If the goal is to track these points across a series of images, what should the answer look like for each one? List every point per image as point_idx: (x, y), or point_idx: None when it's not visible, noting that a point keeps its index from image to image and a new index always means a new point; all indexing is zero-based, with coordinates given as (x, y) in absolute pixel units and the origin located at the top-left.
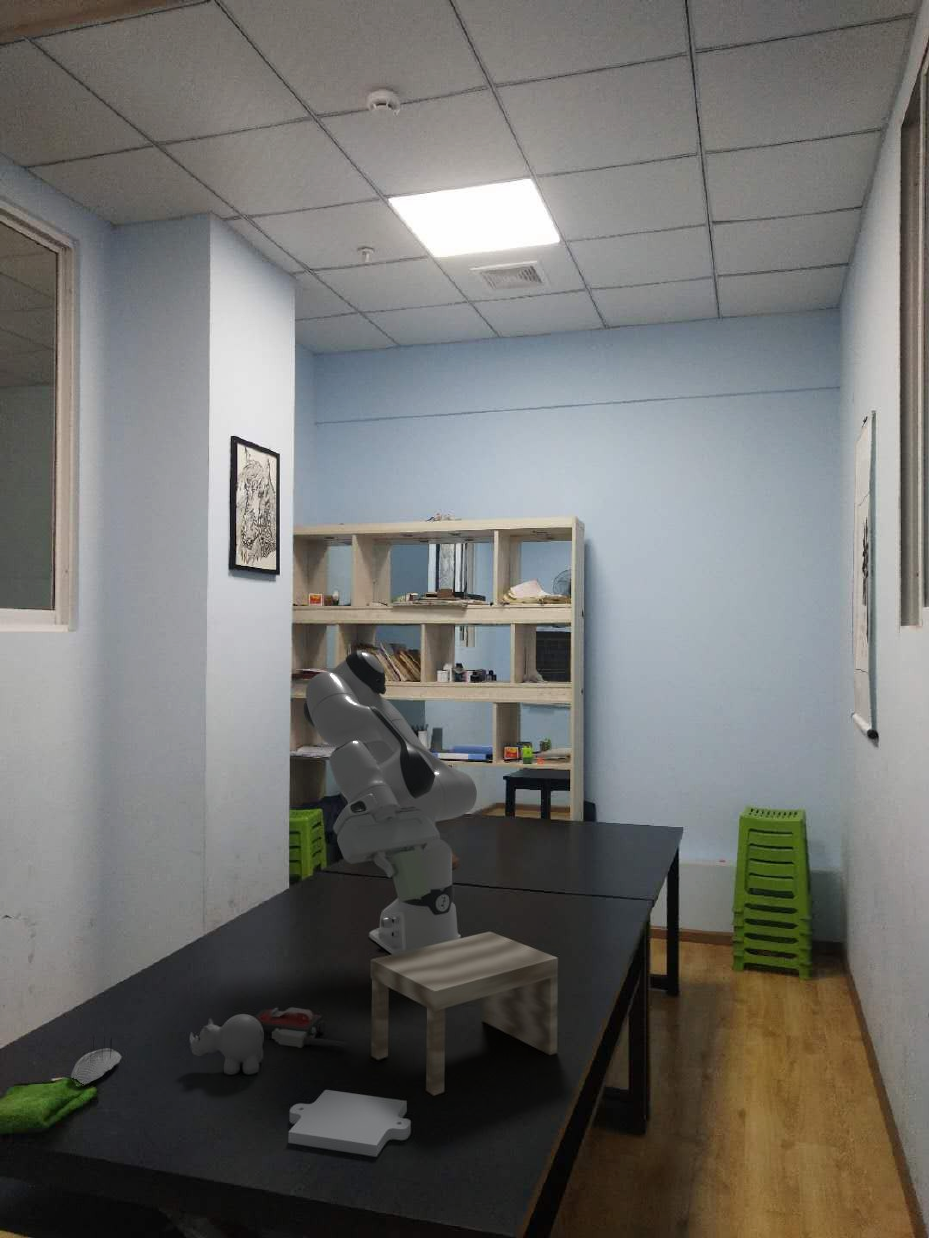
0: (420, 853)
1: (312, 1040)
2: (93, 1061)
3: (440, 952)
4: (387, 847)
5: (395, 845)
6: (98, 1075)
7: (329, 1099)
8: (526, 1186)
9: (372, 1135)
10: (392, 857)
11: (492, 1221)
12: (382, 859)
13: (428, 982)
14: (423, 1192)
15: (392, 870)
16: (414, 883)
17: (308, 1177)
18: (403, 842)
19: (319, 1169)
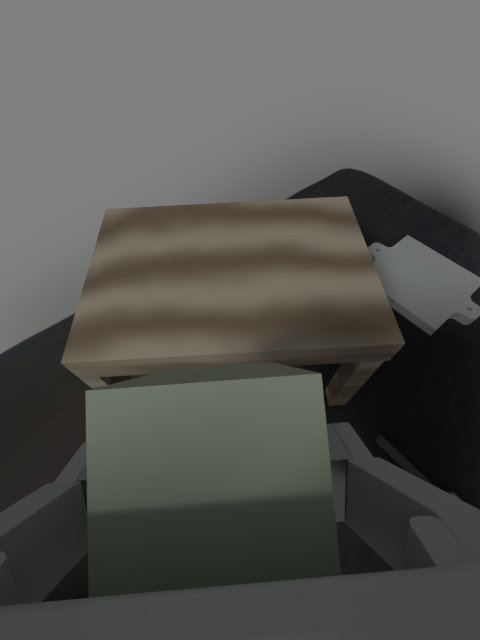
0: (4, 521)
1: (429, 481)
2: None
3: (248, 309)
4: (423, 568)
5: (282, 588)
6: None
7: (435, 311)
8: (317, 183)
9: (407, 246)
10: (332, 501)
11: (354, 172)
12: (444, 492)
13: (341, 219)
14: (383, 202)
15: (344, 427)
16: (238, 366)
17: (464, 243)
18: (111, 633)
19: (453, 247)
